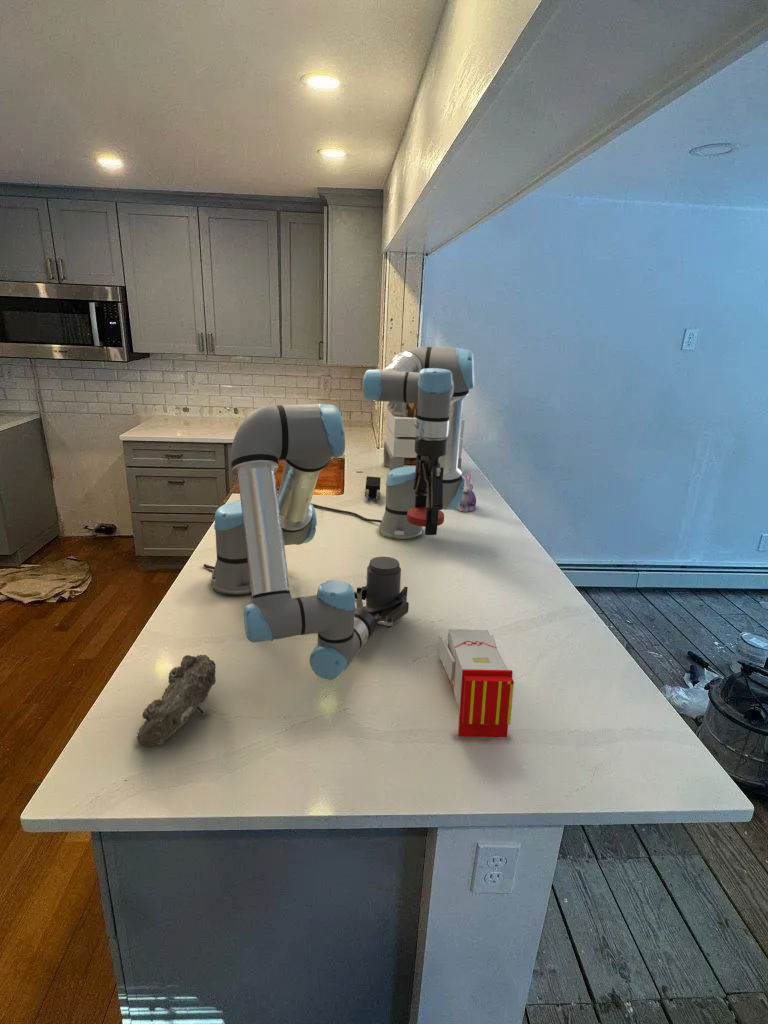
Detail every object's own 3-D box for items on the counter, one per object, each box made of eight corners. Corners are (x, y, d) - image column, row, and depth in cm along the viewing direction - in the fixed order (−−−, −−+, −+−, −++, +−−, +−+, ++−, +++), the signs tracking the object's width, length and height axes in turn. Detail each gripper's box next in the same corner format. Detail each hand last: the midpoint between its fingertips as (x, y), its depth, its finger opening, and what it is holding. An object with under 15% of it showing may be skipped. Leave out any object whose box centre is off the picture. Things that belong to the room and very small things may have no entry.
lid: (438, 513, 144) (439, 506, 143) (448, 526, 135) (448, 519, 135) (403, 514, 142) (404, 507, 142) (411, 527, 134) (411, 520, 133)
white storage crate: (382, 463, 289) (386, 382, 275) (445, 464, 293) (451, 384, 279) (390, 482, 257) (394, 392, 243) (460, 483, 261) (468, 394, 247)
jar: (403, 613, 148) (407, 560, 143) (389, 628, 141) (392, 572, 135) (374, 605, 151) (377, 552, 146) (359, 619, 144) (361, 564, 139)
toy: (488, 613, 130) (523, 677, 101) (484, 667, 133) (517, 744, 104) (435, 612, 130) (455, 676, 101) (432, 666, 133) (451, 743, 103)
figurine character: (380, 506, 230) (380, 491, 243) (381, 489, 227) (381, 475, 240) (364, 506, 230) (364, 491, 243) (364, 489, 226) (365, 474, 240)
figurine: (463, 513, 222) (466, 477, 217) (448, 505, 231) (451, 470, 225) (482, 510, 226) (486, 474, 221) (467, 503, 235) (471, 468, 230)
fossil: (167, 656, 118) (217, 624, 113) (199, 686, 121) (249, 656, 116) (112, 740, 99) (170, 705, 94) (152, 773, 102) (210, 741, 97)
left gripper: (312, 633, 133) (351, 592, 153) (397, 655, 126) (427, 609, 146) (312, 605, 130) (352, 567, 150) (399, 626, 123) (429, 583, 143)
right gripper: (403, 427, 141) (399, 512, 149) (429, 448, 121) (422, 545, 129) (432, 427, 143) (426, 511, 150) (462, 448, 123) (454, 543, 130)
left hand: (389, 587), depth 148 cm, fingers closed on jar, 8 cm apart
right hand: (424, 527), depth 140 cm, fingers closed on lid, 9 cm apart
